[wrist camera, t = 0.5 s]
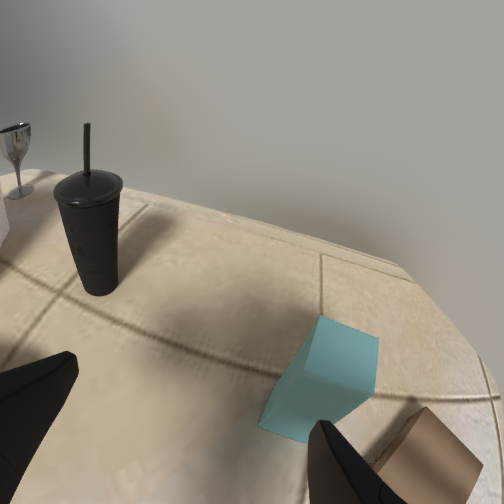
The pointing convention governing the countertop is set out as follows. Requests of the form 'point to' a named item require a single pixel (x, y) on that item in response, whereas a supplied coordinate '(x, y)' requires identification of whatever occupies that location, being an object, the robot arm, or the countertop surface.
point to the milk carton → (3, 220)
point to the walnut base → (428, 463)
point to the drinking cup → (92, 222)
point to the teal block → (322, 380)
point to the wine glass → (16, 153)
